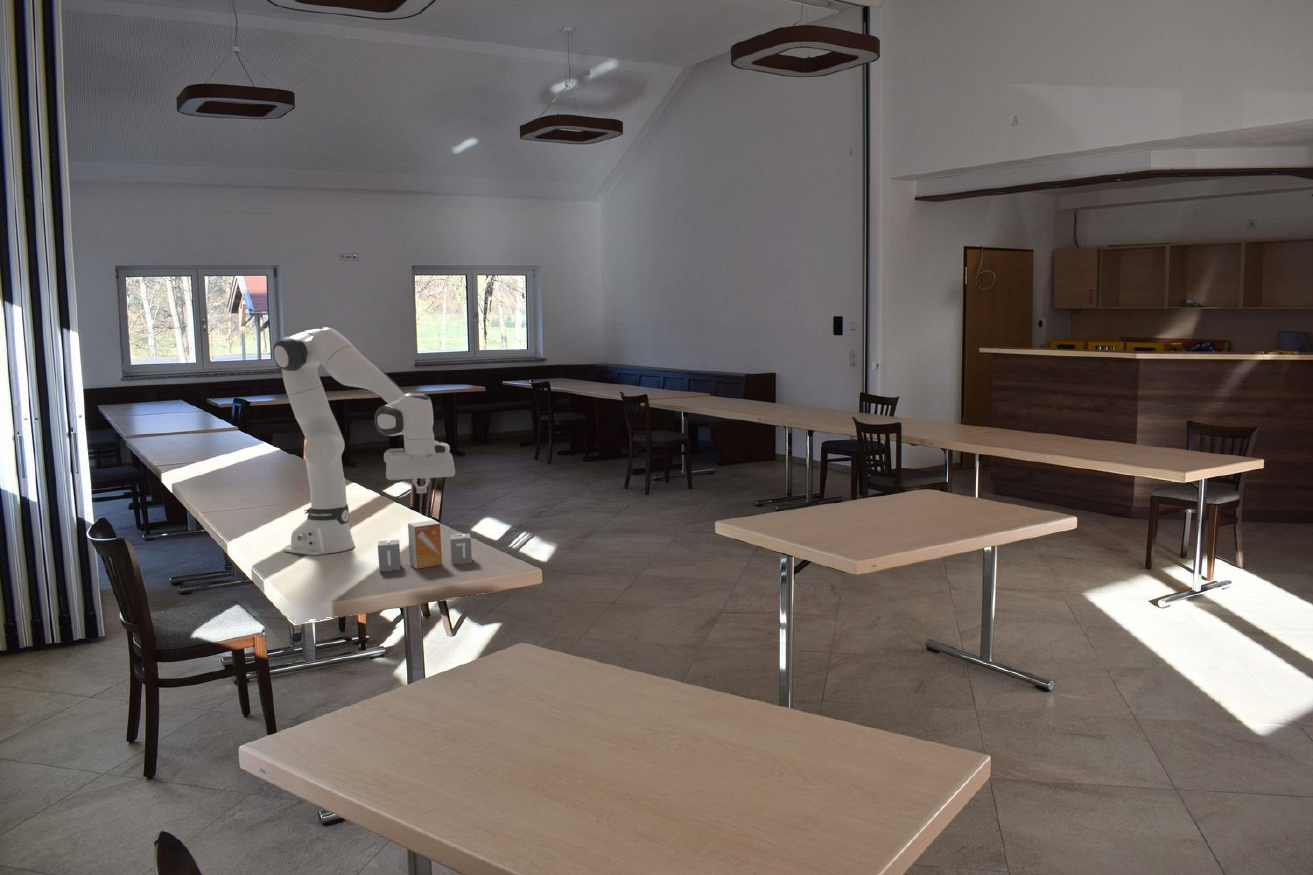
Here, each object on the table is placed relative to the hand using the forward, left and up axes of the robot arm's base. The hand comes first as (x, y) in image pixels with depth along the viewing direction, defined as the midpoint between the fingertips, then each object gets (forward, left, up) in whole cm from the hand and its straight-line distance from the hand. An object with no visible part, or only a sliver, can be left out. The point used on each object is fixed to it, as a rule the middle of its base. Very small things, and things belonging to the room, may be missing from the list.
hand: (421, 492), depth 292 cm
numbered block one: (-9, -6, -22) cm, 25 cm away
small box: (0, 0, -23) cm, 23 cm away
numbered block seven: (+9, +5, -22) cm, 25 cm away
